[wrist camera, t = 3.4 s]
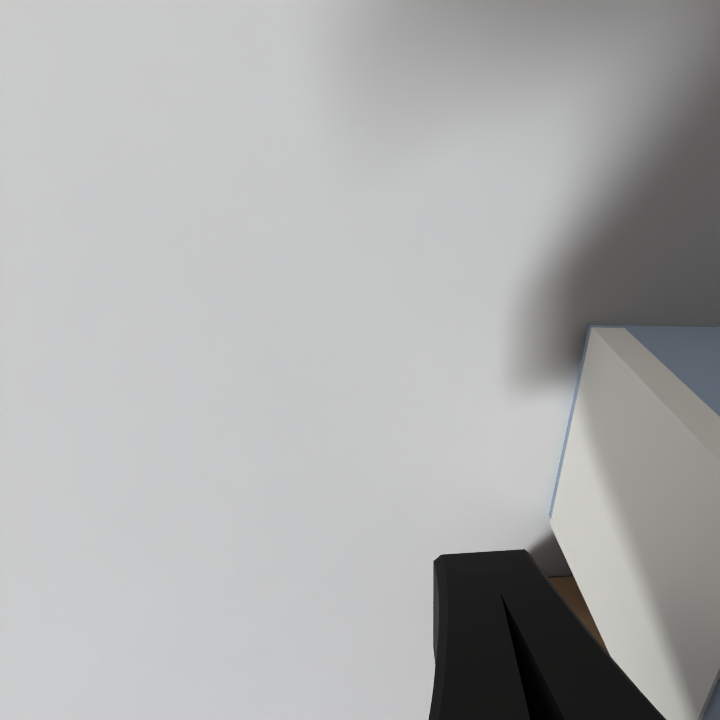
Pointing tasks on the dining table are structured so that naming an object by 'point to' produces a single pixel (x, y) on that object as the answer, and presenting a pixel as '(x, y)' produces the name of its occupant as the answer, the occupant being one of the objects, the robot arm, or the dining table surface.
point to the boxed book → (648, 507)
